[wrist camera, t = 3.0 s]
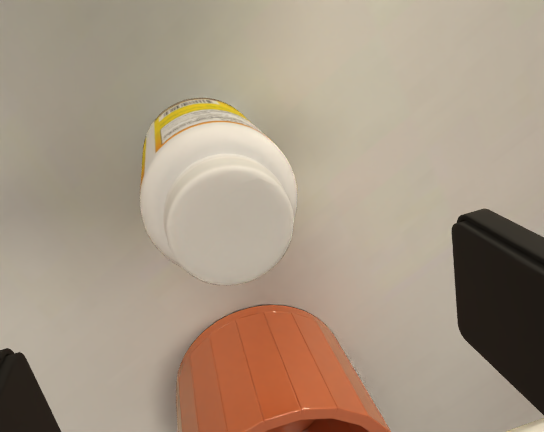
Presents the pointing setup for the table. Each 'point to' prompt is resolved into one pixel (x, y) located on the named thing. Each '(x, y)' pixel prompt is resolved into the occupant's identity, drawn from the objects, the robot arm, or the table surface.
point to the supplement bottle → (216, 192)
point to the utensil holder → (271, 378)
